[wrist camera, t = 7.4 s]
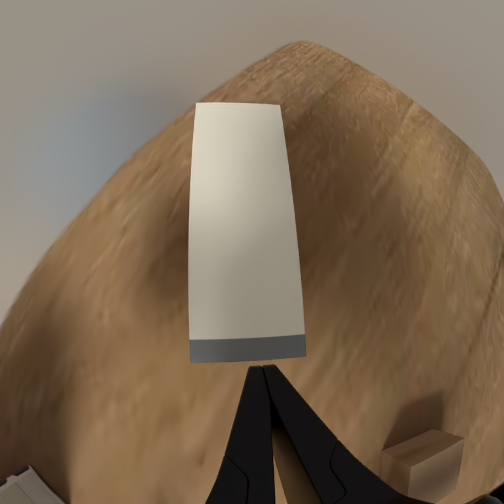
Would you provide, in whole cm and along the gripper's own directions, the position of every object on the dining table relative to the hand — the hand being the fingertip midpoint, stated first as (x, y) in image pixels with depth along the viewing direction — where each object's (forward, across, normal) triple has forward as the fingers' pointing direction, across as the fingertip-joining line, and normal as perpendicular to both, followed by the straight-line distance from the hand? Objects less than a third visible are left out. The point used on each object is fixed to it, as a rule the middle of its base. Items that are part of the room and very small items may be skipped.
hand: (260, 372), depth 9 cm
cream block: (+4, 0, +4) cm, 6 cm away
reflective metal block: (-2, -12, +14) cm, 18 cm away
